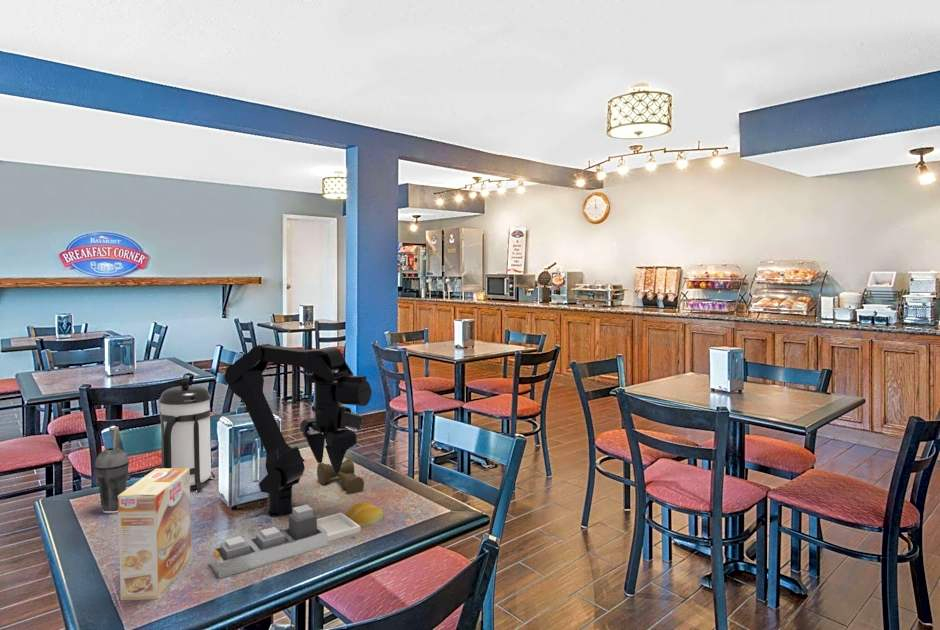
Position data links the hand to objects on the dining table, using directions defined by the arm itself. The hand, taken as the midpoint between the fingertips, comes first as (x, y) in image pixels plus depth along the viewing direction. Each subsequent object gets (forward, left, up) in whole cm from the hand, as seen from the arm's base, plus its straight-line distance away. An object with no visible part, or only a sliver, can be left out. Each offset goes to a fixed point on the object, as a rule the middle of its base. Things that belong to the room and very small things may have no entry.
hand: (328, 467), depth 136 cm
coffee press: (-44, -21, -13) cm, 51 cm away
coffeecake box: (+5, -37, -13) cm, 40 cm away
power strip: (+9, -17, -13) cm, 23 cm away
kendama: (-21, +13, -14) cm, 28 cm away
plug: (+9, -10, -12) cm, 18 cm away
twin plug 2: (+9, -17, -12) cm, 23 cm away
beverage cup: (-38, -39, -13) cm, 56 cm away
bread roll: (+5, +7, -14) cm, 16 cm away
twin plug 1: (+9, -24, -12) cm, 28 cm away
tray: (+6, -2, -13) cm, 14 cm away
